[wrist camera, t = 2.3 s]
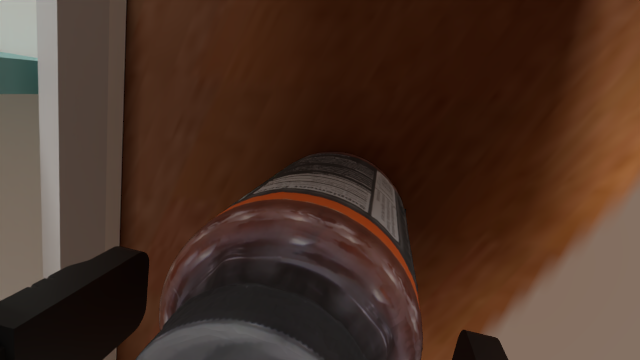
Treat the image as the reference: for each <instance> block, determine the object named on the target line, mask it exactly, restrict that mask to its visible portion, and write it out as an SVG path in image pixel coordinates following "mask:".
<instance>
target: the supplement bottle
mask: <svg viewBox="0 0 640 360" xmlns="http://www.w3.org/2000/svg"><path fill="white" fill-rule="evenodd" d="M405 213H406V209H404V207H403V203H402V200H401V198H400V196H399V194H398V192H397V190H396V188H395V187H394V185H393V184H392V182H391V181H390V179H389V178H388V177H387V176H386V175H385V174H384V173H383V172H382V171H381V170H380V169H379V168H378V167H377V166H375V165H374V164H372V163H371V162H369V161H367V160H365V159H363V158H361V157H358V156H355V155H352V154H348V153H343V152H323V153H317V154H312V155H308V156H306V157H304V158H302V159H300V160H298V161H296V162H294V163H292V164H290V165H289V166H287V167H286V168H285V169H283V170H282V171H280V172H279V173H277V174H276V175H274V176H273V177H272V178H270V179H269V180H267V181H266V182H264V183H263V184H261V185H260V186H258V187H257V188H256V189H254V190H253V191H251V192H250V193H248V194H247V195H245V196H244V197H243V198H241V199H240V200H238V201H237V202H235V203H234V204H232V205H231V206H230V207H228V208H227V209H226V210H224V211H223V212H222V213H220V214H219V215H217V216H216V217H215V218H213V219H212V220H211V221H209V222H208V223H206V224H205V225H204V226H203V227H202V228H201V229H200V230H199V231H198V232H197V233H196V234H195V235H194V236H193V237H192V238H191V239H190V240H189V241H188V242H187V243H186V245H185V246H184V247H183V248H182V250H181V251H180V252H179V254H178V255H177V257H176V258H175V260H174V262H173V264H172V266H171V268H170V270H169V273H168V275H167V278H166V281H165V284H164V287H163V291H162V296H161V300H160V308H159V311H160V316H159V325H160V332H159V333H158V335H157V336H156V337H155V338H154V339H153V340H152V341H151V342H150V343H149V344H148V345H147V346H146V347H145V349H144V350H143V351H142V352H141V353H140V354H139V356H138V357H137V358H136V360H421V352H422V350H423V347H422V341H423V332H422V321H421V312H420V306H419V300H418V286H417V282H416V276H415V271H414V266H413V259H412V253H411V248H410V241H409V235H408V229H407V221H406V214H405Z"/></svg>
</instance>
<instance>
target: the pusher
mask: <svg viewBox="0 0 640 360" xmlns="http://www.w3.org/2000/svg"><path fill="white" fill-rule="evenodd" d="M0 94H39V93H38V58H34V57H28V56H22V55H16V54H10V53H5V52H0Z"/></svg>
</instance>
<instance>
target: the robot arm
mask: <svg viewBox="0 0 640 360" xmlns="http://www.w3.org/2000/svg"><path fill="white" fill-rule="evenodd" d="M148 271H149V258H148V255H147V254H146V253H145V252H141V251H137V250H133V249H129V248H124V247H120V246H115V247H113V248H111V249H109V250H107V251H105V252H103V253H102V254H100V255H98V256H96V257H94V258H92V259H90V260H88V261H84V262H80V263H77V264H73V265H70V266H67V267H65V268H63V269H61V270H59V271H57V272H55V273H53V274H51V275H49V276H48V278H47V279H46V278H44V279H42V280H40V281H38V282H36V283H34V284H32V286H31V287H26V288H24V289H22V290H20V291H18V292H16V293H15V294H13V295H11V296H9V297H7V298H5V299H3V300H1V301H0V360H103V359H104V358H105V357H106V356H108V355H109V354H110V353H111V352H112V351H113V350H114V349H115V348H116V347H117V346H119V345H120V344H121V343H122V342H123V341H124V340H125V339H126V338H127V337H128V336H130V335H131V334H132V333H133V332H134V331H135V330H136V329H137V327H138V326H139V324H140V323H141V321H142V319H143V316H144V314H145V310H146V302H147V287H148ZM452 360H508V358H507V356H506V354H505V352H504V350H503V348H502V345H501V343H500V341H499V340H498V338H496V337H492V336H487V335H483V334H479V333H475V332H471V331H467V330H462V331H461V333H460V335H459V337H458V340H457V344H456V348H455V351H454V355H453V358H452Z"/></svg>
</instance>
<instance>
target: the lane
mask: <svg viewBox="0 0 640 360" xmlns="http://www.w3.org/2000/svg"><path fill="white" fill-rule="evenodd" d="M125 35H126V0H0V52H5V53H10V54H16V55H22V56H28V57H34V58H38V93H39V94H0V301H1V300H3V299H5V298H7V297H9V296H11V295H13V294H15V293H16V292H18V291H20V290H22V289H24V288H26V287H31V286H32V284H34V283H36V282H38V281H40V280H42V279H44V278H46V279H47V278H48V276H49V275H51V274H53V273H55V272H57V271H59V270H61V269H63V268H65V267H67V266H70V265H73V264H77V263H80V262H84V261H88V260H90V259H92V258H94V257H96V256H98V255H100V254H102V253H103V252H105V251H107V250H109V249H111V248H113V247H115V246H119V244H120V209H121V174H122V139H123V105H124V70H125ZM116 349H117V347H116V348H115V349H114V350H113V351H112V352H111V353H110V354H109V355H108V356H106V357H105V358H104V359H103V360H116Z"/></svg>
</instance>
